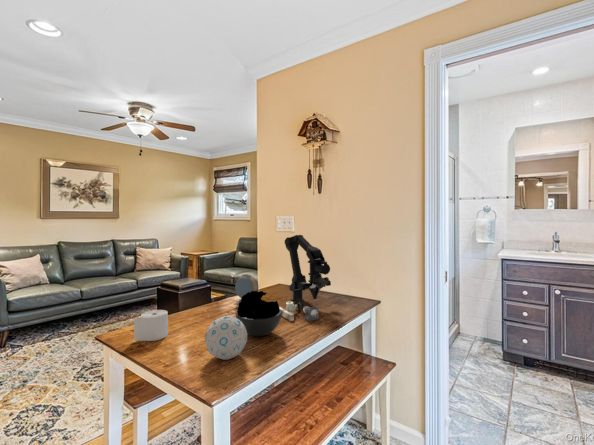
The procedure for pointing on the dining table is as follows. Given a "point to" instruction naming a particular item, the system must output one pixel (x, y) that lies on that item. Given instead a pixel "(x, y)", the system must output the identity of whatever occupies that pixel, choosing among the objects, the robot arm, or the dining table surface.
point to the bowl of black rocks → (258, 314)
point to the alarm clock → (245, 286)
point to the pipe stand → (311, 313)
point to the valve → (291, 307)
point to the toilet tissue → (151, 326)
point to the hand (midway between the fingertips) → (314, 299)
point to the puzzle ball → (226, 337)
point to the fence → (287, 314)
